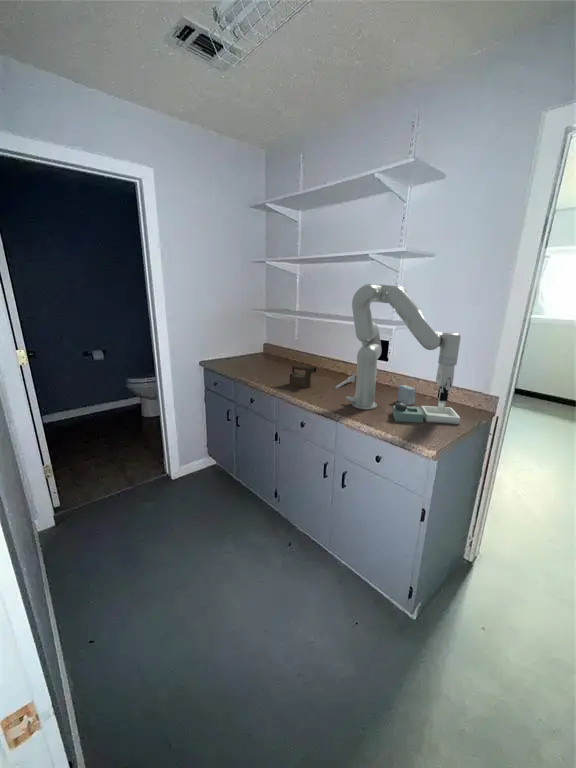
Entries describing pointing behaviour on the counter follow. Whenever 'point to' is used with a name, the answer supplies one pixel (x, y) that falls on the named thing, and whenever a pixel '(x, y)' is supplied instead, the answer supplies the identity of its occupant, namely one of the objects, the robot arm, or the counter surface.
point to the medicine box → (406, 394)
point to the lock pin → (441, 403)
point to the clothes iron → (301, 377)
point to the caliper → (346, 381)
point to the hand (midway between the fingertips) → (442, 399)
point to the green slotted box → (407, 413)
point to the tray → (440, 415)
